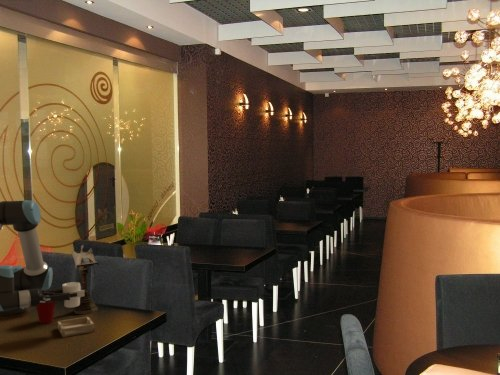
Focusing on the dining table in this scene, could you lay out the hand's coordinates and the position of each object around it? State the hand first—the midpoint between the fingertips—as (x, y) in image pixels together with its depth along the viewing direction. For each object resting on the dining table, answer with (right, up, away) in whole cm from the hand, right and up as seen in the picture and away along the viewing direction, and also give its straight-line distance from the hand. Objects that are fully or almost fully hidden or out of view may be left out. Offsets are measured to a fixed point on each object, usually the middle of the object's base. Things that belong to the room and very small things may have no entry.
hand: (82, 291), depth 248 cm
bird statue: (-6, -17, +29) cm, 34 cm away
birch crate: (-3, -18, 0) cm, 18 cm away
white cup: (-4, -6, -2) cm, 8 cm away
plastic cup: (-22, -18, +14) cm, 31 cm away
